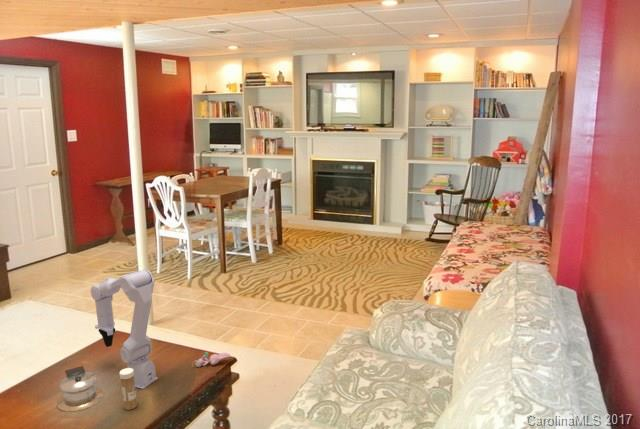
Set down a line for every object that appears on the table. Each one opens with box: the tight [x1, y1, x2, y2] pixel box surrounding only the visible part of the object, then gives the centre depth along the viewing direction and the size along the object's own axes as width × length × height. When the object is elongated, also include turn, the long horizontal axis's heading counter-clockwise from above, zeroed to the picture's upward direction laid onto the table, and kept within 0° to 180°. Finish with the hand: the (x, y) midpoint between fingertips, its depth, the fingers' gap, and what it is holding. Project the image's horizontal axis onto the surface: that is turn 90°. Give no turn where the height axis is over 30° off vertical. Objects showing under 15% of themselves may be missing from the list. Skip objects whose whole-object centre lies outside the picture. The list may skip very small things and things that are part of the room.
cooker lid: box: [59, 365, 97, 393], centre depth 178 cm, size 15×12×2 cm
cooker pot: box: [56, 384, 105, 413], centre depth 178 cm, size 15×15×6 cm
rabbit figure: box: [191, 351, 231, 369], centre depth 200 cm, size 6×6×15 cm
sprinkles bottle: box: [119, 367, 138, 411], centre depth 172 cm, size 5×5×14 cm
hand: (108, 345), depth 198 cm, fingers closed
